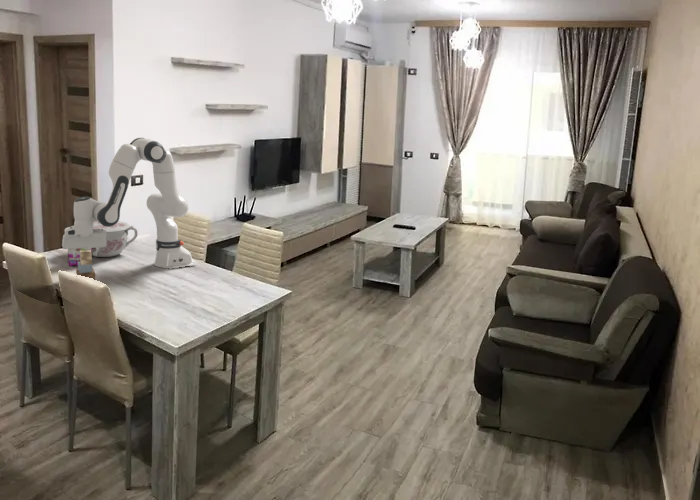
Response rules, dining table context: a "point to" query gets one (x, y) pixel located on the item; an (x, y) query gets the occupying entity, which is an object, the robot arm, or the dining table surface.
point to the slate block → (84, 268)
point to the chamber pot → (114, 239)
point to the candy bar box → (74, 260)
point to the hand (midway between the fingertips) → (85, 256)
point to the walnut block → (87, 274)
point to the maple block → (86, 257)
